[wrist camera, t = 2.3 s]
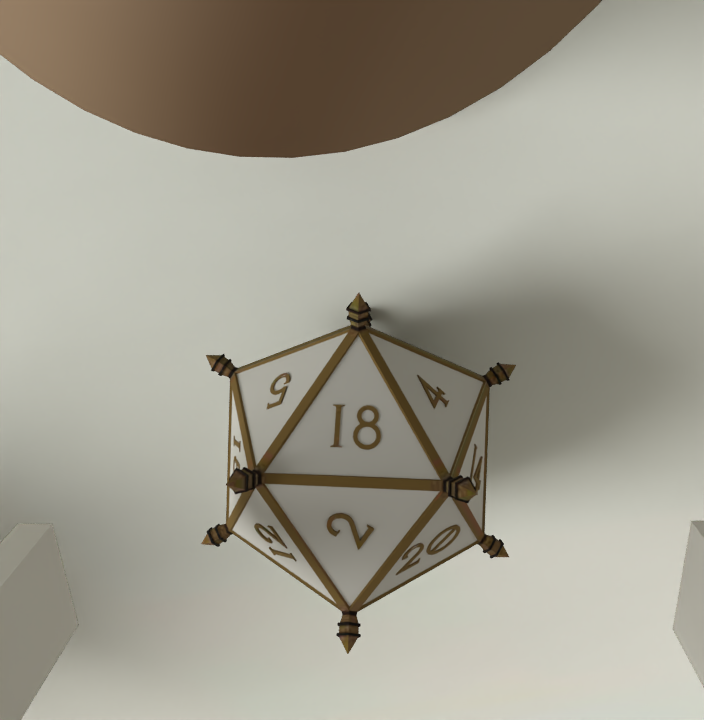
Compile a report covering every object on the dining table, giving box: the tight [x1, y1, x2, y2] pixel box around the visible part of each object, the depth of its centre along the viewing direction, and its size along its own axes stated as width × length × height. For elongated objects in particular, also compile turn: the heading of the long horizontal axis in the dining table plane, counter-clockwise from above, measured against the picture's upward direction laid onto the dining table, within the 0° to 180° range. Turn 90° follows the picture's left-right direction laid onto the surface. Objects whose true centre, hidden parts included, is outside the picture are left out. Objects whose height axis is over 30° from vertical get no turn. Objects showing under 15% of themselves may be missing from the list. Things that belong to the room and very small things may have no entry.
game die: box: [201, 293, 516, 654], centre depth 18 cm, size 9×8×10 cm
